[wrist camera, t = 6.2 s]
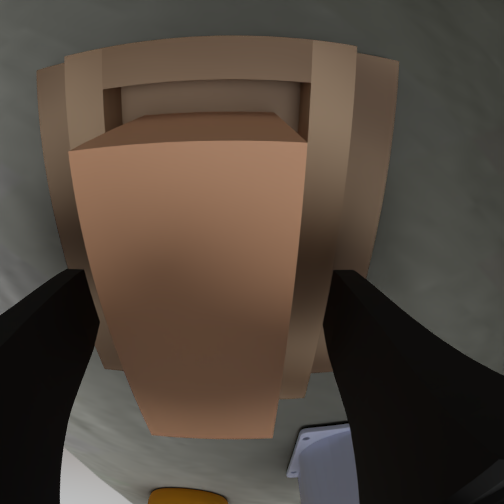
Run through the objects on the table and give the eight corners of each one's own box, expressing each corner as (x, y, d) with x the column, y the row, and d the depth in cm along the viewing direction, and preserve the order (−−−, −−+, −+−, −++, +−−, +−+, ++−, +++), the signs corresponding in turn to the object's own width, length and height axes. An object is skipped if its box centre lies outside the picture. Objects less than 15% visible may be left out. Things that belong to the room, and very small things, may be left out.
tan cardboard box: (262, 335, 14) (272, 438, 9) (170, 335, 14) (151, 434, 9) (273, 112, 9) (307, 142, 5) (144, 115, 9) (67, 151, 5)
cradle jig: (336, 359, 16) (346, 393, 14) (108, 357, 15) (97, 391, 13) (389, 61, 9) (422, 61, 7) (48, 69, 8) (11, 72, 6)
